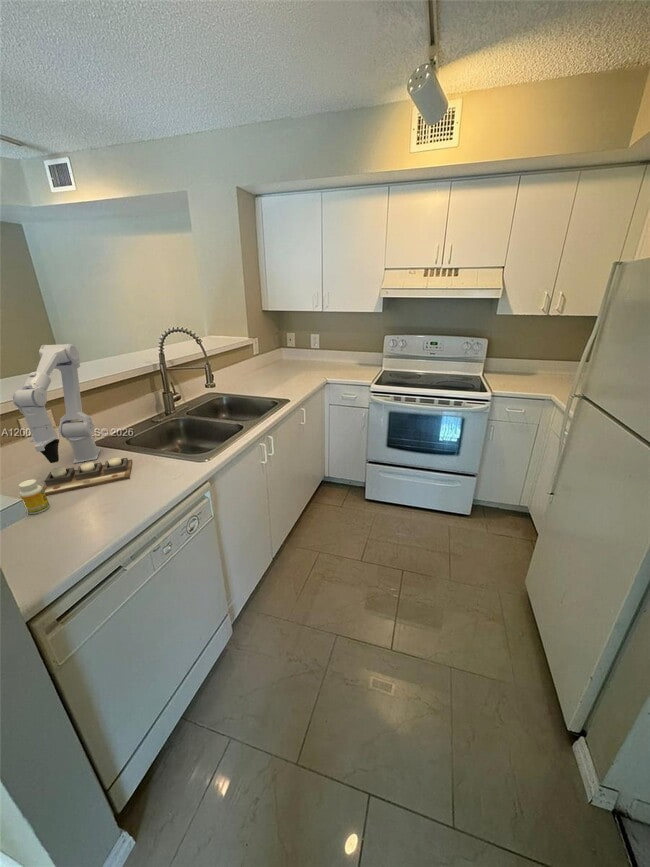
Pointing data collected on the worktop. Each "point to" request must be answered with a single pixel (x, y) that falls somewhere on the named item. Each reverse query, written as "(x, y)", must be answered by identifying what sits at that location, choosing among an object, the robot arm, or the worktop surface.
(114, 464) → the button right
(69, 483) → the board
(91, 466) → the button middle
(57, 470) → the button left
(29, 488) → the supplement bottle
